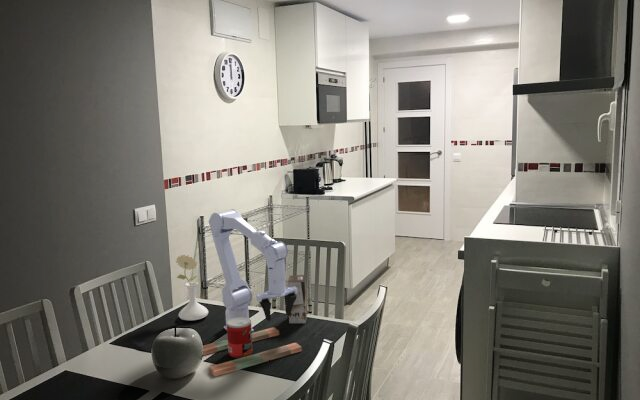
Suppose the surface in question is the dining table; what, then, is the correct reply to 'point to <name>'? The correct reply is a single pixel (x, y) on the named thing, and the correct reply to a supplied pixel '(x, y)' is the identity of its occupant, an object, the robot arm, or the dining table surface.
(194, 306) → the flower in vase
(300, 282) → the coffee box
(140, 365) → the dining table surface
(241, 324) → the canned food
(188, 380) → the dining table surface
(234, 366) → the orange green bars
